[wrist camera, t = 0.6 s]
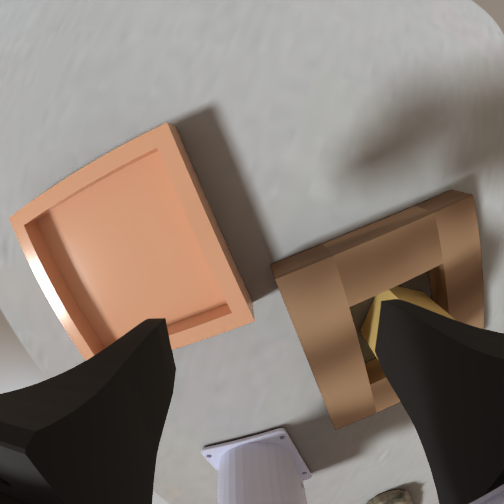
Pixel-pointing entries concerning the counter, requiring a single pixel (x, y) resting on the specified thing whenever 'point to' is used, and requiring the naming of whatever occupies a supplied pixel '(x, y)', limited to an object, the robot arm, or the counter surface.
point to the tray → (133, 248)
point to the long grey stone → (392, 498)
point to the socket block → (375, 282)
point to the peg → (401, 293)
